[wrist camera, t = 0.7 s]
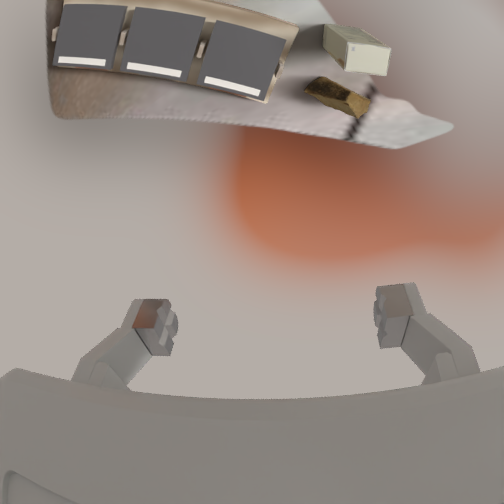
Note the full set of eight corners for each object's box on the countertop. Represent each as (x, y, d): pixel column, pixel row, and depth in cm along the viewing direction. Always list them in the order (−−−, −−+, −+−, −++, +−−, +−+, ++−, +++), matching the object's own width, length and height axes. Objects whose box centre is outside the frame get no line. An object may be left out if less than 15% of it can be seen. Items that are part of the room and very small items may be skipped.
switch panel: (74, -13, 30) (54, -7, 26) (296, 24, 39) (303, 33, 35) (65, 60, 40) (47, 74, 36) (265, 96, 49) (267, 113, 45)
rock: (388, 100, 46) (359, 60, 40) (380, 139, 46) (348, 99, 39) (338, 106, 55) (307, 72, 48) (327, 142, 54) (292, 109, 47)
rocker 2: (216, 20, 35) (216, 19, 34) (285, 39, 37) (286, 39, 36) (196, 82, 41) (196, 84, 40) (262, 99, 43) (263, 101, 42)
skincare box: (321, 47, 42) (341, 71, 34) (323, 23, 38) (344, 41, 31) (360, 51, 42) (387, 77, 34) (363, 28, 38) (392, 48, 31)
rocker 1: (67, 4, 29) (64, 4, 28) (128, 6, 31) (125, 5, 31) (56, 64, 35) (52, 65, 34) (112, 68, 37) (110, 69, 37)
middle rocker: (137, 7, 32) (135, 6, 31) (206, 17, 34) (205, 17, 33) (122, 69, 38) (119, 71, 37) (186, 80, 40) (186, 82, 39)
